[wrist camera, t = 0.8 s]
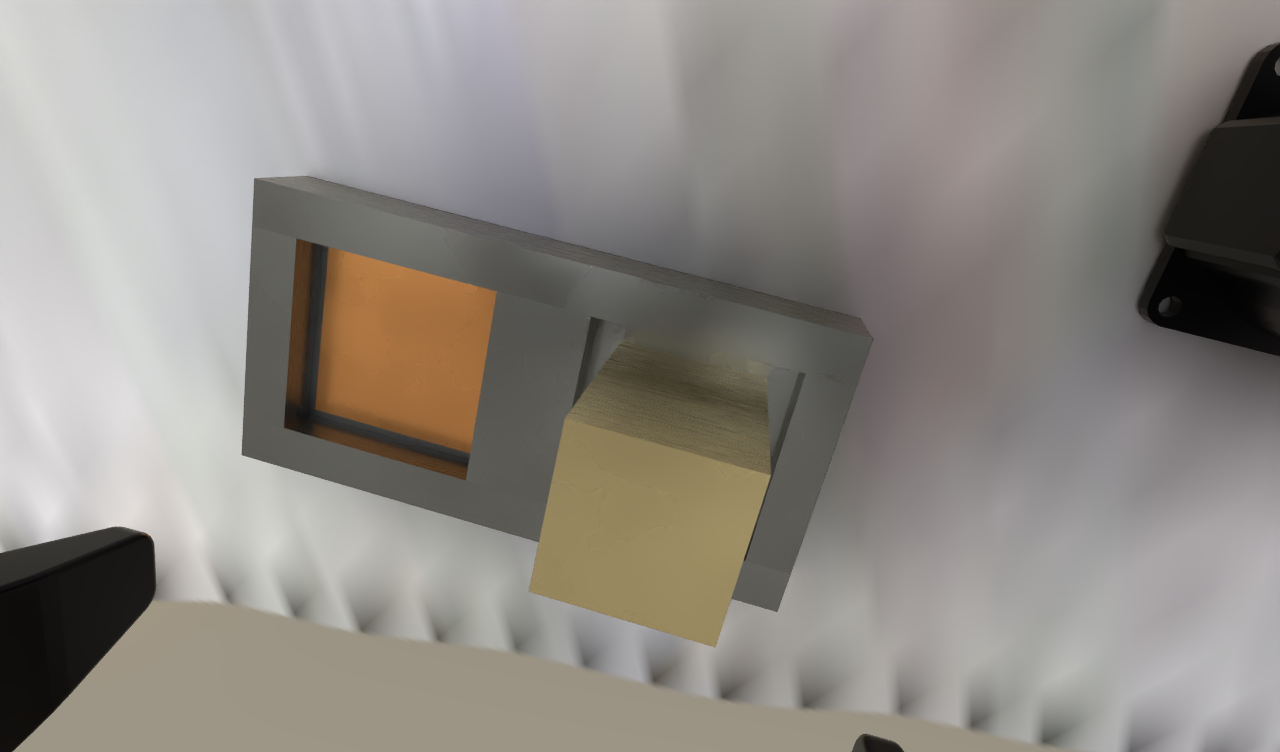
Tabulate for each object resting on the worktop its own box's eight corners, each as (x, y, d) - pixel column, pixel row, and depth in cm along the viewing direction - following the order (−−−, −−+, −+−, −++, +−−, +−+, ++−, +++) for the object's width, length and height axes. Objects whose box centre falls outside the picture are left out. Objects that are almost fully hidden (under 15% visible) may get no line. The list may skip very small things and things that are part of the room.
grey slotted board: (860, 318, 19) (873, 338, 17) (775, 568, 22) (777, 611, 19) (306, 175, 20) (254, 178, 18) (288, 427, 23) (241, 454, 21)
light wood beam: (766, 379, 19) (770, 475, 13) (727, 508, 20) (715, 647, 14) (621, 340, 19) (564, 418, 13) (592, 470, 20) (528, 591, 15)
